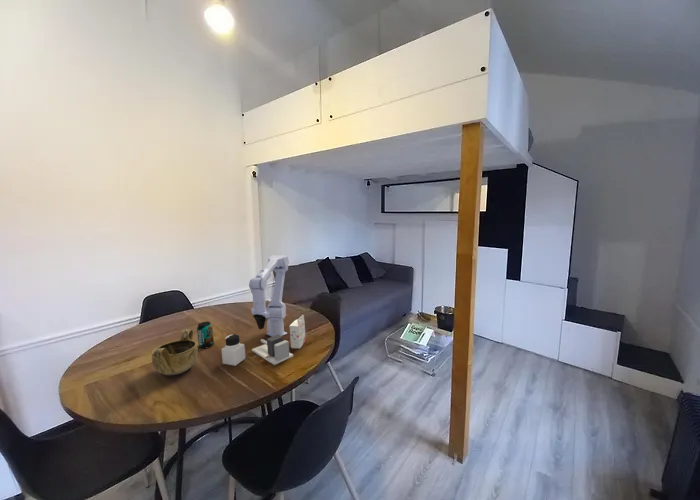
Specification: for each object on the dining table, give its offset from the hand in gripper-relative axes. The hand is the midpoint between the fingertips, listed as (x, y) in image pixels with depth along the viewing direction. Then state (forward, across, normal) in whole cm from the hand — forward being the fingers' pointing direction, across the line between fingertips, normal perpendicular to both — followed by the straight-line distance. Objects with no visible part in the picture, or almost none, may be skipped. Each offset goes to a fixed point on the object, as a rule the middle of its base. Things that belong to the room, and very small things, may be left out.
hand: (261, 328), depth 141 cm
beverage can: (+11, -26, -18) cm, 33 cm away
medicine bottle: (+11, +1, -15) cm, 18 cm away
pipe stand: (+10, +8, 0) cm, 13 cm away
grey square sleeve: (+9, +12, 0) cm, 15 cm away
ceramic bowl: (+11, -10, -35) cm, 38 cm away
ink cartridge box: (+11, +10, +14) cm, 20 cm away
